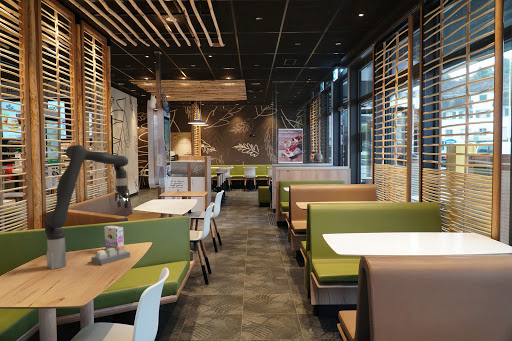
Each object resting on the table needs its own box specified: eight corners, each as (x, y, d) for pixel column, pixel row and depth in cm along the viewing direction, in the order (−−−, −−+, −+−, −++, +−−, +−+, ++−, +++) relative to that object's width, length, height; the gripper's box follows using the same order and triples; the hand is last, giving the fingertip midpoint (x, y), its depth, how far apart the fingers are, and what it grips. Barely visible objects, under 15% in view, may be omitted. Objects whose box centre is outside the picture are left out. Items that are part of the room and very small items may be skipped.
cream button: (100, 256, 216) (99, 252, 216) (97, 255, 218) (96, 251, 218) (105, 254, 219) (105, 250, 219) (102, 253, 221) (102, 250, 221)
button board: (101, 265, 213) (100, 257, 213) (91, 262, 219) (91, 254, 219) (130, 256, 229) (130, 249, 229) (120, 254, 236) (120, 246, 235)
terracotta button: (119, 251, 227) (119, 247, 227) (116, 250, 229) (116, 246, 229) (124, 249, 230) (124, 246, 229) (121, 249, 232) (121, 245, 232)
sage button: (109, 253, 221) (109, 249, 221) (106, 252, 224) (106, 249, 223) (115, 252, 224) (115, 248, 224) (112, 251, 226) (111, 247, 226)
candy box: (124, 250, 246) (123, 226, 245) (117, 252, 241) (116, 228, 240) (112, 247, 253) (111, 225, 252) (104, 249, 248) (103, 226, 247)
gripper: (111, 184, 247) (112, 207, 248) (122, 185, 239) (123, 209, 240) (120, 183, 253) (121, 206, 254) (132, 184, 245) (133, 207, 246)
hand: (122, 207), depth 247 cm, fingers open, 8 cm apart
